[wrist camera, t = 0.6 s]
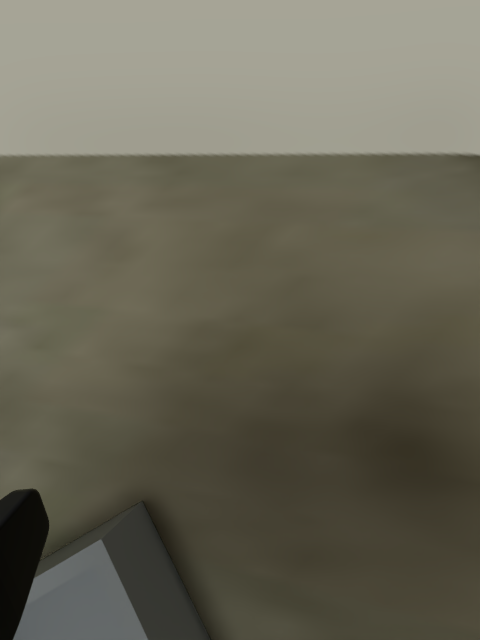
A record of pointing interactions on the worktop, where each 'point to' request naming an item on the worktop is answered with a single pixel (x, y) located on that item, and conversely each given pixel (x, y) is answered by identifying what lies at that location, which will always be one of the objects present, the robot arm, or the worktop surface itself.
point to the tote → (111, 588)
